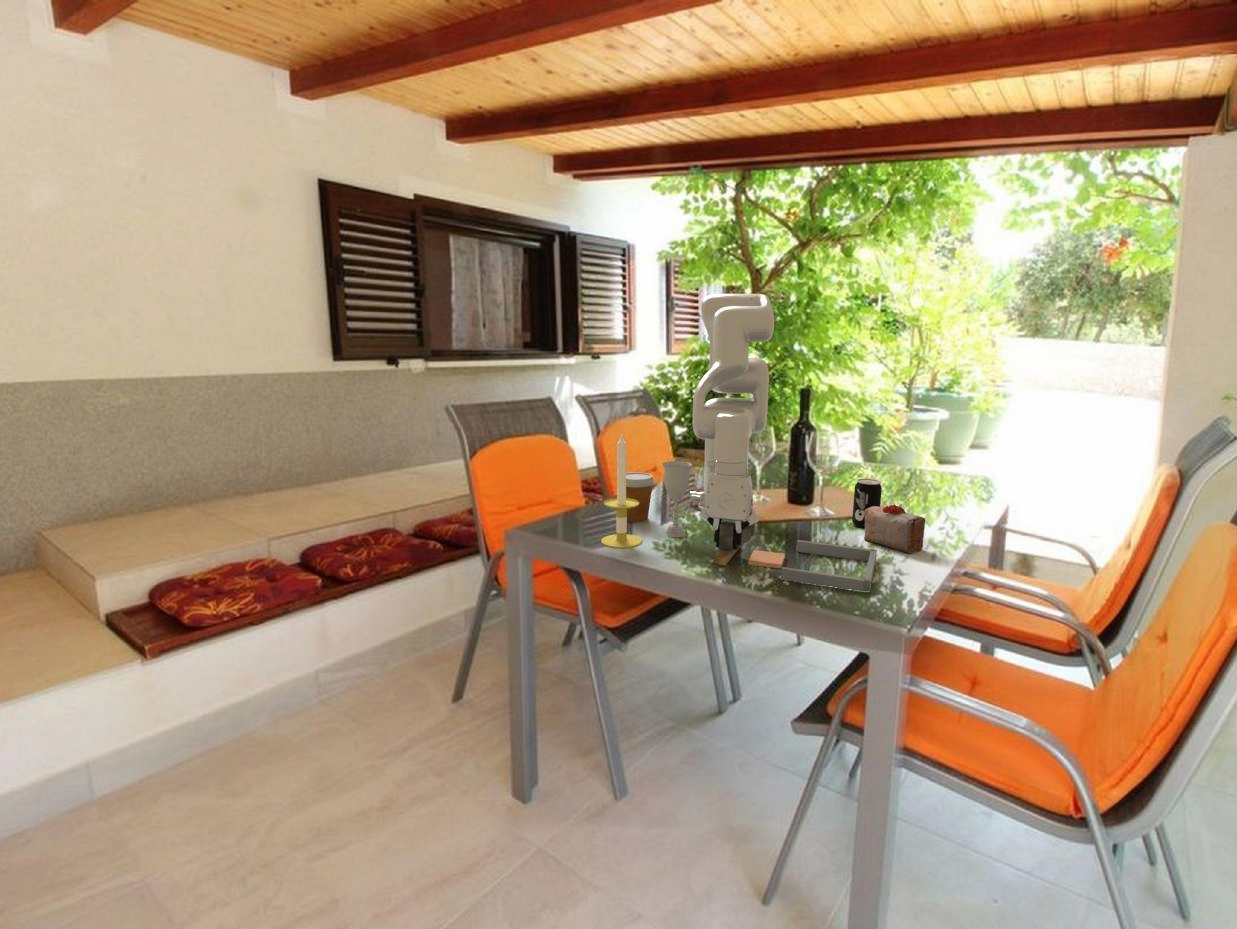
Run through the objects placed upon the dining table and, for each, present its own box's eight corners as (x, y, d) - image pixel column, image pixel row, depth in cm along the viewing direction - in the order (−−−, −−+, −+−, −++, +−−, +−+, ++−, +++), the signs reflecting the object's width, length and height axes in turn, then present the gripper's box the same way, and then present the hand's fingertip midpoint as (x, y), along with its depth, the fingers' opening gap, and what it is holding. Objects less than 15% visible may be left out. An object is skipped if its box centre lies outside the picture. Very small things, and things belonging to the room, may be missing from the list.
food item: (857, 540, 165) (860, 501, 162) (877, 534, 169) (880, 496, 167) (907, 556, 154) (911, 514, 151) (927, 549, 158) (931, 509, 156)
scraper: (713, 564, 148) (714, 529, 147) (728, 546, 160) (729, 514, 158) (726, 566, 147) (727, 531, 145) (740, 548, 159) (742, 515, 157)
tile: (748, 566, 148) (748, 560, 148) (753, 556, 154) (753, 550, 154) (780, 570, 146) (781, 564, 145) (784, 560, 152) (784, 553, 152)
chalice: (692, 531, 171) (694, 462, 167) (686, 539, 164) (688, 467, 161) (665, 528, 173) (666, 460, 169) (657, 536, 167) (658, 465, 163)
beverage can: (880, 530, 172) (884, 484, 170) (853, 528, 173) (857, 483, 171) (876, 522, 178) (879, 478, 176) (850, 521, 180) (853, 477, 177)
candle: (594, 538, 165) (594, 430, 160) (631, 533, 169) (632, 427, 164) (610, 550, 156) (610, 436, 151) (649, 545, 160) (650, 433, 155)
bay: (780, 580, 139) (781, 568, 138) (797, 550, 157) (798, 539, 157) (869, 593, 132) (870, 581, 131) (875, 560, 150) (876, 549, 150)
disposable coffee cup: (612, 516, 183) (612, 474, 181) (642, 512, 188) (643, 470, 185) (628, 526, 175) (629, 481, 173) (660, 521, 179) (661, 477, 177)
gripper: (690, 468, 149) (688, 546, 153) (764, 474, 143) (760, 557, 146) (700, 461, 156) (698, 537, 160) (771, 468, 149) (767, 546, 153)
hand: (727, 545), depth 153 cm, fingers open, 3 cm apart
